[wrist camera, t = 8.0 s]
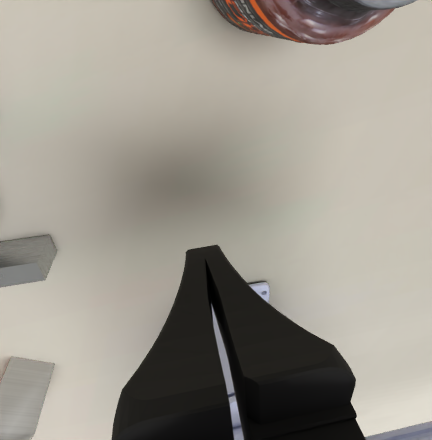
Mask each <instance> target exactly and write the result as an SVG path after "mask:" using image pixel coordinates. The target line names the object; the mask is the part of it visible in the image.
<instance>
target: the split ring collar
mask: <svg viewBox="0 0 432 440" xmlns="http://www.w3.org/2000/svg"><path fill="white" fill-rule="evenodd" d="M56 253H57V250H56V248H55V245H54V243H53V241H52V239H51V237H50V235H45V236H38V237H31V238H24V239H17V240H10V241H4V242H0V287H6V286H12V285H18V284H24V283H30V282H37V281H43V280H46V277H47V275H48V272H49V270H50V268H51V265H52V263H53V260H54V258H55V255H56Z"/></svg>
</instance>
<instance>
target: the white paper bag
mask: <svg viewBox="0 0 432 440" xmlns="http://www.w3.org/2000/svg"><path fill="white" fill-rule="evenodd" d="M53 368H54V363H48V362H42V361H36V360H29V359H23V358H17V357H11V359H10V361H9V363H8V366H7V368H6V370H5V373H4V375H3V378H2V380H1V382H0V440H31V439H32V437H33V435H34V434H35V431H36V427H37V424H38V420H39V417H40V413H41V410H42V406H43V403H44V399H45V396H46V392H47V389H48V385H49V382H50V378H51V375H52V371H53Z"/></svg>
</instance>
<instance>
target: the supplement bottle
mask: <svg viewBox="0 0 432 440" xmlns="http://www.w3.org/2000/svg"><path fill="white" fill-rule="evenodd" d="M212 1H213V3H214V5H215V7H216V8H217V9H218V11H219V12H220V13H221V15H222V16H223V17H224V18H225V19H226V20H227V21H229V23H231V24H233V25H234V26H236V27H238V28H239V29H241V30H244V31H247V32H251V33H255V34H261V35H266V36H272V37H276V38H280V39H286V40H291V41H295V42H299V43H308V44H319V45H321V44H324V45H328V44H335V43H339V42H343V41H345V40H349V39H352V38H354V37H356V36H359V35H361V34H363V33H365V32H366V31H367V30H370V29H371V28H373V27H374V26H376V25H377V24H379V23H380V22H381V21H382V20H383V19H384V18H385V17H387V16H388V15H389V14H390V13H391V12H392V11H393V10H394V9H395V8H399V7H402V6H405V5H407V4H410V3H413V2H415V1H417V0H212Z"/></svg>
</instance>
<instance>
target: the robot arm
mask: <svg viewBox="0 0 432 440" xmlns="http://www.w3.org/2000/svg"><path fill="white" fill-rule="evenodd" d="M263 291H264V292H263ZM355 381H356V379H355V377H354V375H353V373H352V371H351V369H350V367H349V365H348V364H347V362H346V361H345V360H344V358H343V357H342V355H341V354H340V353H339V352H338V350H337V349H336V348H335V346H334V345H332V344H330V343H328V342H327V341H325V340H323V339H321V338H319V337H317V336H315V335H313V334H312V333H310V332H308V331H307V330H305V329H303V328H302V327H300V326H299V325H297V324H296V323H294V322H293V321H291V320H290V319H288V318H287V317H286V316H284V315H283V314H281V313H280V312H279V311H277V310H276V309H275V308H274V307H272V306H271V305H270V304H269V285H268V283H266V282H262V283H256V284H250V285H248V284H247V283H246V281H245V280H244V279H243V278H242V277H241V276H240V275H239V274H238V272H237V271H236V270H235V269H234V268H233V266H232V265H231V264H230V262H229V261H228V260H227V258H226V257H225V255H224V254H223V252H222V250H221V249H220V247H219V246H218V245H213V246H207V247H201V248H195V249H190V250H188V251H187V252H186V261H185V267H184V272H183V276H182V280H181V284H180V287H179V290H178V293H177V296H176V299H175V301H174V304H173V307H172V309H171V311H170V314H169V316H168V318H167V320H166V322H165V324H164V326H163V328H162V330H161V332H160V334H159V336H158V338H157V339H156V341H155V343H154V345H153V346H152V348H151V349H150V351H149V353H148V354H147V356H146V357H145V359H144V360H143V362H142V363H141V365H140V366H139V368H138V369H137V370H136V372H135V373H134V374H133V376H132V377H131V378H130V380H129V381H128V383H127V384H126V385H125V387H124V388H123V389H122V392H121V395H120V398H119V402H118V405H117V409H116V413H115V418H114V423H113V432H112V440H432V421H430V422H426V423H422V424H418V425H414V426H409V427H405V428H401V429H397V430H393V431H389V432H384V433H380V434H376V435H372V436H368V437H364V435H363V433H362V431H361V429H360V427H359V425H358V423H357V421H356V419H355V418H356V417H357V415H356V412H355V410H354V408H353V406H352V404H351V402H350V401H351V398H352V394H353V391H354V388H355Z"/></svg>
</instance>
